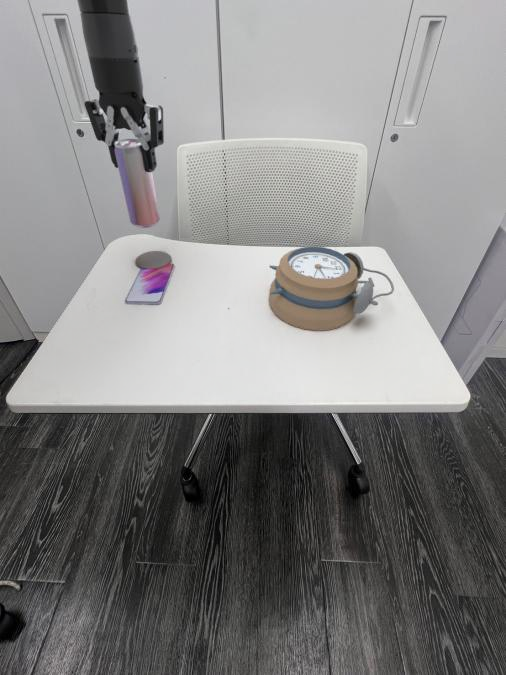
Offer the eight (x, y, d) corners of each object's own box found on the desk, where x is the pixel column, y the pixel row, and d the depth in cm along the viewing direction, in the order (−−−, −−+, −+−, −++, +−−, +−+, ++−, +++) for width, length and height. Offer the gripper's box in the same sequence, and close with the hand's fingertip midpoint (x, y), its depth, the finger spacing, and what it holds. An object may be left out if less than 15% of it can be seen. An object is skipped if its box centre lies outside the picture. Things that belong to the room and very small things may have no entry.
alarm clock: (270, 238, 68) (386, 242, 68) (267, 277, 74) (373, 281, 74) (272, 286, 55) (414, 291, 55) (268, 329, 61) (396, 333, 61)
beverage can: (125, 226, 70) (105, 144, 60) (139, 215, 74) (124, 137, 64) (151, 230, 69) (136, 147, 59) (165, 218, 73) (153, 140, 63)
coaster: (128, 266, 76) (128, 264, 75) (147, 250, 81) (146, 248, 81) (160, 273, 74) (160, 271, 74) (177, 256, 80) (177, 254, 80)
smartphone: (123, 302, 66) (143, 262, 77) (124, 306, 66) (144, 265, 77) (160, 303, 66) (175, 263, 77) (161, 306, 66) (175, 266, 77)
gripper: (57, 52, 52) (90, 170, 63) (141, 57, 49) (159, 179, 60) (89, 50, 57) (113, 159, 69) (166, 55, 54) (178, 168, 66)
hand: (135, 168), depth 64 cm, fingers closed on beverage can, 6 cm apart
